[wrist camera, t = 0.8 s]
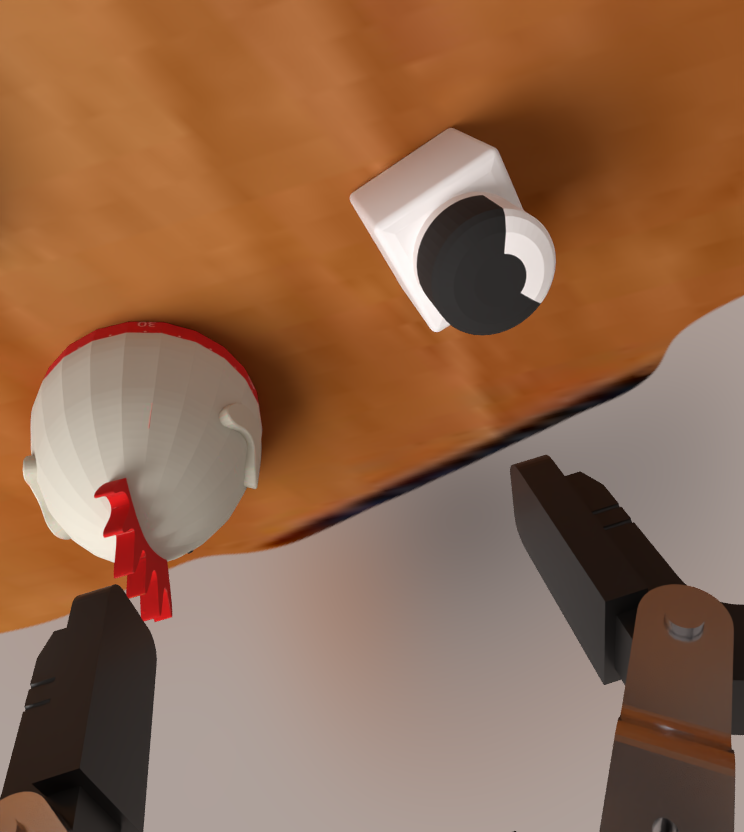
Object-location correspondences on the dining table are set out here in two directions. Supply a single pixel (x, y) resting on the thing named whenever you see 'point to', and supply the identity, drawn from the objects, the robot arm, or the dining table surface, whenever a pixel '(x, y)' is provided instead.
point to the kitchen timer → (143, 448)
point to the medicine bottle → (458, 236)
